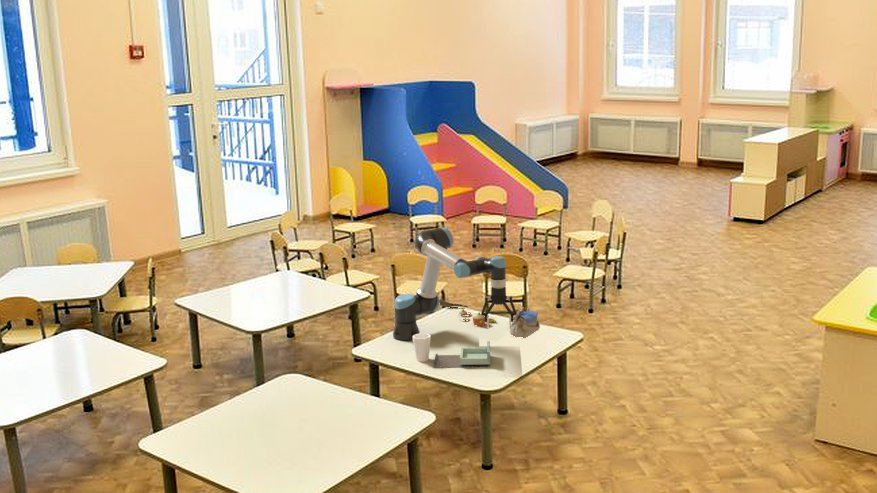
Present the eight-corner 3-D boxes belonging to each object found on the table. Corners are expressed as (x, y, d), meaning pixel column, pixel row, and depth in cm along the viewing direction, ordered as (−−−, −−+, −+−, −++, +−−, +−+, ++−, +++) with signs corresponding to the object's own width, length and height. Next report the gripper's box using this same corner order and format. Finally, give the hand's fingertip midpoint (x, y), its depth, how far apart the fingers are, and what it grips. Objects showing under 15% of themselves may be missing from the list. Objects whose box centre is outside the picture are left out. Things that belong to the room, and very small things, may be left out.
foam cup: (432, 356, 460) (431, 333, 457) (430, 362, 451) (429, 338, 448) (414, 356, 461) (413, 333, 458) (412, 362, 451) (411, 338, 449)
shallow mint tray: (461, 354, 459) (460, 341, 458) (489, 354, 458) (489, 341, 457) (460, 365, 442) (459, 352, 441) (489, 365, 441) (489, 352, 440)
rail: (435, 355, 461) (435, 353, 460) (490, 355, 459) (490, 353, 458) (433, 367, 443) (433, 365, 443) (490, 367, 441) (490, 364, 441)
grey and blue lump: (523, 324, 510) (523, 298, 507) (549, 328, 502) (549, 301, 499) (504, 337, 489) (503, 310, 485) (530, 341, 480) (530, 313, 477)
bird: (470, 312, 538) (469, 297, 536) (466, 316, 531) (466, 300, 529) (442, 310, 544) (442, 295, 542) (438, 314, 537) (438, 298, 535)
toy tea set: (499, 325, 512) (499, 309, 510) (483, 331, 501) (482, 315, 499) (466, 317, 529) (465, 302, 527) (449, 323, 518) (448, 308, 516)
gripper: (475, 288, 438) (476, 330, 443) (521, 288, 437) (522, 329, 441) (475, 285, 446) (476, 326, 450) (521, 284, 444) (521, 325, 449)
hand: (499, 328), depth 446 cm, fingers open, 11 cm apart
